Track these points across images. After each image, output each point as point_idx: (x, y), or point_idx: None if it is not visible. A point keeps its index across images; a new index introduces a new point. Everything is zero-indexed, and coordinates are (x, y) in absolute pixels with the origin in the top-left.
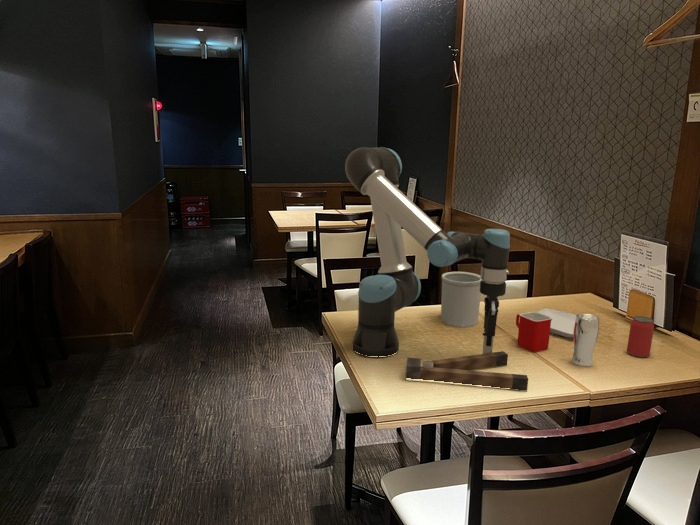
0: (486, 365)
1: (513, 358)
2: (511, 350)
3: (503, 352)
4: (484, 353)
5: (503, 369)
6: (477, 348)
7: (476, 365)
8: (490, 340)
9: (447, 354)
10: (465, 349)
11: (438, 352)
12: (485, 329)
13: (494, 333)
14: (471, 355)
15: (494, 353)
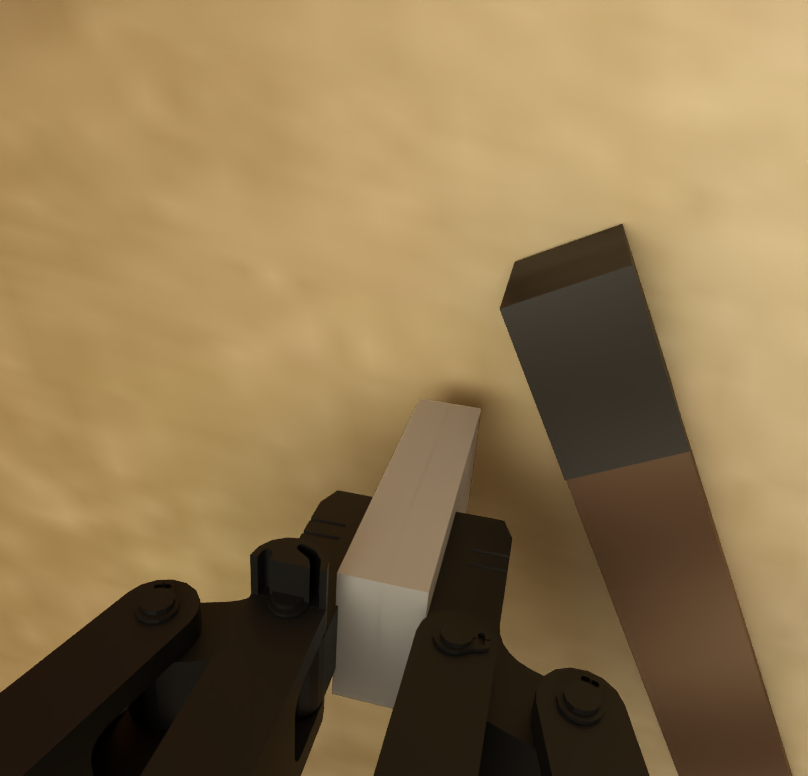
0: (709, 509)
1: (366, 62)
2: (102, 25)
3: (553, 315)
4: (467, 500)
5: (734, 295)
6: (156, 426)
7: (746, 630)
8: (500, 605)
9: (361, 708)
10: (212, 541)
11: (330, 754)
12: (309, 748)
13: (640, 761)
14: (662, 723)
15: (598, 454)
